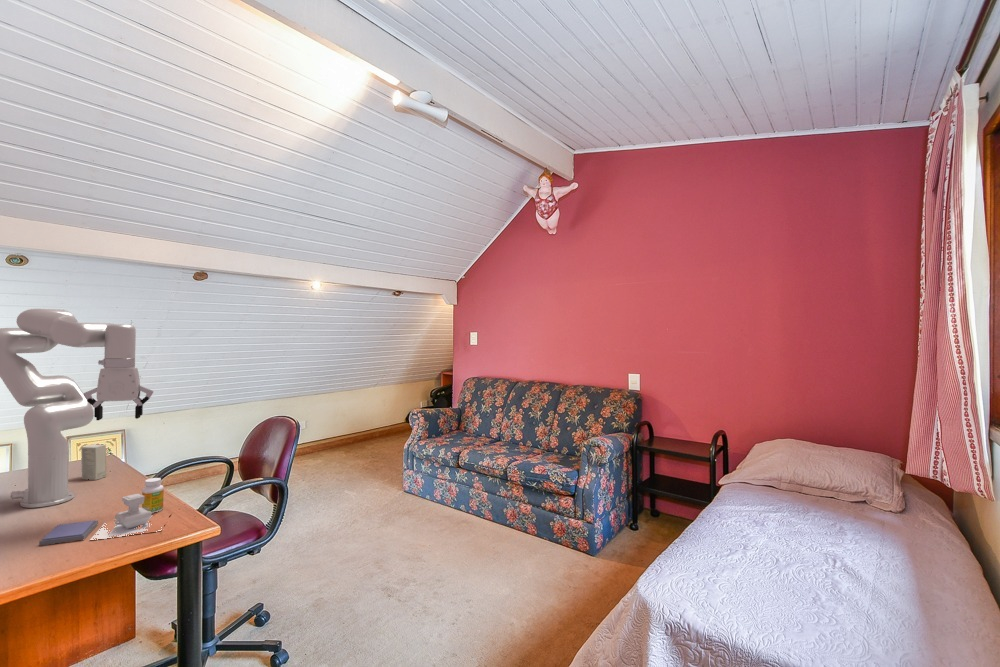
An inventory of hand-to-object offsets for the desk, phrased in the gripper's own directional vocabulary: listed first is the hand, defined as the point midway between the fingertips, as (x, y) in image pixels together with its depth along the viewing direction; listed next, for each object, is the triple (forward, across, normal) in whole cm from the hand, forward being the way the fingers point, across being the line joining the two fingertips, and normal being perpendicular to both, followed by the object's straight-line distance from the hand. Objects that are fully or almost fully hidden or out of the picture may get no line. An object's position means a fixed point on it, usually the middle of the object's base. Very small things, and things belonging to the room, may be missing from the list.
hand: (118, 418), depth 149 cm
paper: (+28, +8, -18) cm, 34 cm away
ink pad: (+28, -6, -18) cm, 34 cm away
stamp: (+28, +8, -18) cm, 34 cm away
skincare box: (+29, -17, +40) cm, 52 cm away
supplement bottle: (+28, +10, -6) cm, 31 cm away
